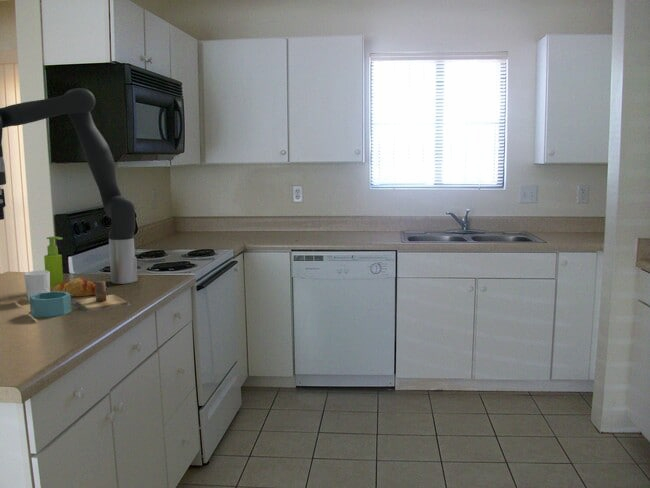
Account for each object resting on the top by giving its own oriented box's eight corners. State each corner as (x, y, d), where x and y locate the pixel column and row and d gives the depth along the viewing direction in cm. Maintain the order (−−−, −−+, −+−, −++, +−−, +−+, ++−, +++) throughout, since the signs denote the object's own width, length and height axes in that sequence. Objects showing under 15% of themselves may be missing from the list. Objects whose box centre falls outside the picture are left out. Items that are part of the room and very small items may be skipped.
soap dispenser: (59, 292, 222) (56, 238, 219) (43, 291, 223) (39, 237, 220) (69, 289, 227) (66, 236, 224) (53, 288, 229) (49, 235, 226)
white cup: (31, 298, 213) (29, 270, 212) (55, 298, 214) (53, 270, 212) (22, 304, 205) (20, 275, 204) (46, 303, 206) (44, 274, 205)
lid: (114, 297, 213) (113, 276, 212) (127, 304, 203) (126, 282, 202) (75, 302, 205) (74, 281, 204) (87, 311, 195) (86, 288, 194)
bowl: (64, 307, 201) (63, 289, 200) (74, 314, 192) (73, 296, 192) (28, 313, 194) (27, 294, 193) (37, 320, 186) (35, 301, 185)
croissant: (44, 307, 215) (38, 290, 210) (52, 288, 223) (47, 271, 218) (106, 305, 217) (101, 288, 212) (112, 286, 225) (107, 269, 220)
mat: (116, 297, 214) (116, 296, 214) (131, 306, 203) (131, 304, 203) (71, 304, 205) (71, 302, 205) (85, 314, 194) (85, 312, 193)
